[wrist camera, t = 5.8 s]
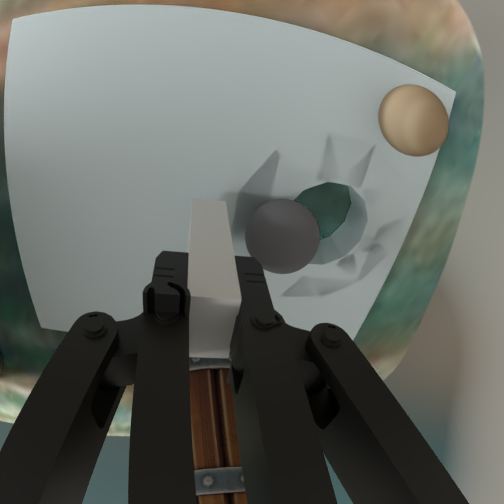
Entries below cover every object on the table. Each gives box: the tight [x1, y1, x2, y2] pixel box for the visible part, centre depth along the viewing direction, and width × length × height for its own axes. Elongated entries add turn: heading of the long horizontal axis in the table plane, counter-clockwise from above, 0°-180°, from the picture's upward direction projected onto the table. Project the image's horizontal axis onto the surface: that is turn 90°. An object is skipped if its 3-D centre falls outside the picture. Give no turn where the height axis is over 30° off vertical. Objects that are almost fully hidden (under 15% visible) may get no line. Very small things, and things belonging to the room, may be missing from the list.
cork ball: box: [378, 84, 449, 157], centre depth 13 cm, size 4×4×4 cm
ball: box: [245, 199, 320, 274], centre depth 15 cm, size 4×4×4 cm
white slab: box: [4, 5, 456, 340], centre depth 17 cm, size 24×20×2 cm
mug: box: [189, 352, 247, 504], centre depth 22 cm, size 16×11×15 cm
